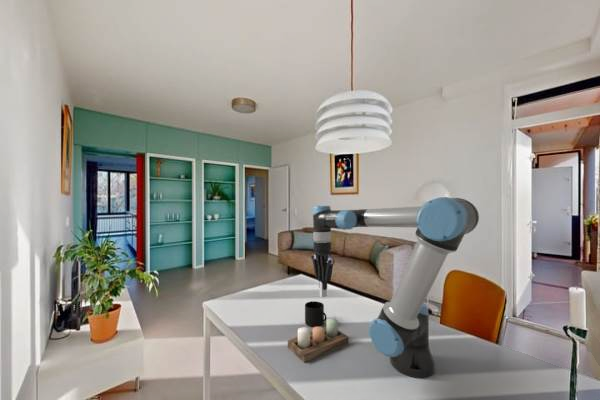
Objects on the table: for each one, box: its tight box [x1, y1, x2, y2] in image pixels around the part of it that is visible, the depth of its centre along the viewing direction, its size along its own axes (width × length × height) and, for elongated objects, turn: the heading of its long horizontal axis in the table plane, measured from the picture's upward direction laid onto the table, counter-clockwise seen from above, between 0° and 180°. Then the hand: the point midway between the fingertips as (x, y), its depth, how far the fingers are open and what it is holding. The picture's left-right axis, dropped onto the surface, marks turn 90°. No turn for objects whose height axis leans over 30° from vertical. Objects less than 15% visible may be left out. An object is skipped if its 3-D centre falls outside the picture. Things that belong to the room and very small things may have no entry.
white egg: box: [297, 326, 311, 350], centre depth 102 cm, size 5×5×6 cm
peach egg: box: [312, 326, 325, 344], centre depth 106 cm, size 5×5×6 cm
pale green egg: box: [325, 317, 339, 338], centre depth 111 cm, size 5×5×6 cm
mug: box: [304, 300, 328, 328], centre depth 126 cm, size 9×12×9 cm
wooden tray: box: [287, 326, 350, 364], centre depth 106 cm, size 12×23×3 cm, turn 123°
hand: (323, 296), depth 109 cm, fingers closed
